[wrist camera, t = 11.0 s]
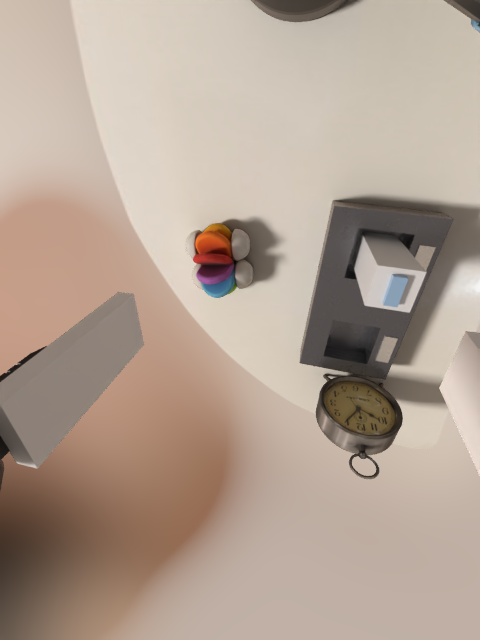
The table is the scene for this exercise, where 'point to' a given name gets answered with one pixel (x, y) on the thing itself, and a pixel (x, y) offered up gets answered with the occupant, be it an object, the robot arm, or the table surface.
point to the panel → (345, 296)
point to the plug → (387, 272)
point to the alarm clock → (358, 416)
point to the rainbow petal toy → (219, 259)
